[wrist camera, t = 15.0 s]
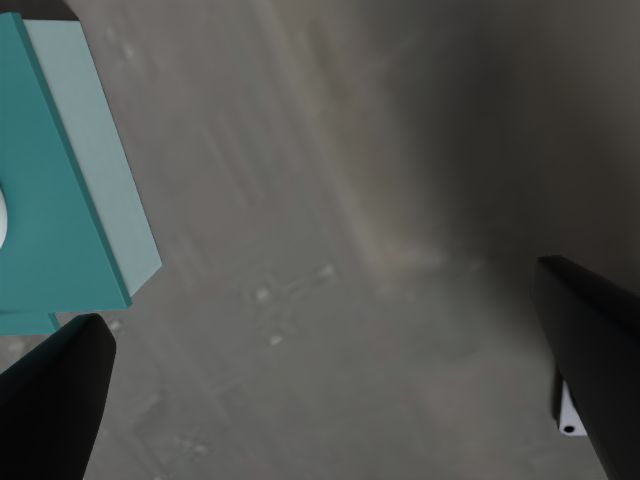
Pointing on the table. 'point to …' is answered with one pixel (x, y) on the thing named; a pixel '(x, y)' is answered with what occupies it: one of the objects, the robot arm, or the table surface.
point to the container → (63, 184)
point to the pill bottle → (2, 218)
